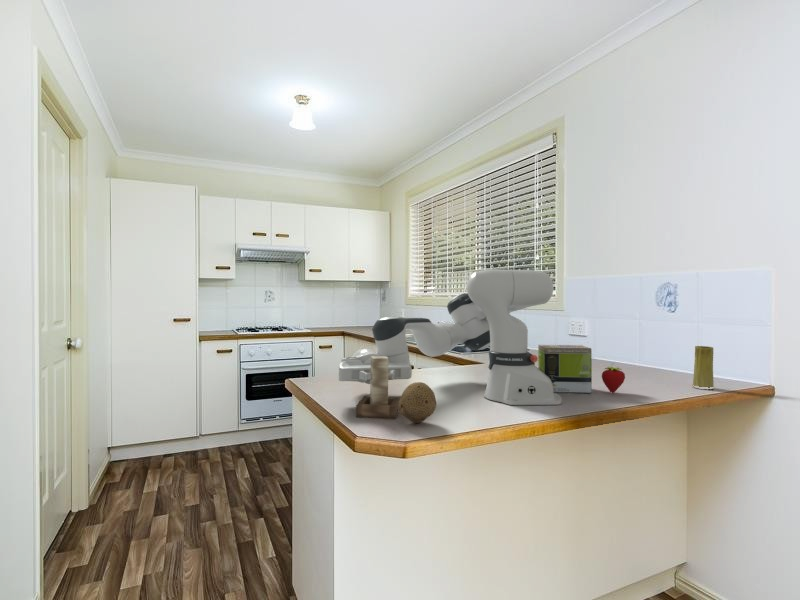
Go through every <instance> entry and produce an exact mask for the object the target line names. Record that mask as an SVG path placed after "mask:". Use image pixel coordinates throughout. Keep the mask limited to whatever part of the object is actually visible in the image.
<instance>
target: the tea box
mask: <svg viewBox="0 0 800 600" xmlns="http://www.w3.org/2000/svg"><path fill="white" fill-rule="evenodd" d="M537 348H538V349H537V352H538V354H537V357H538V359H537V360H538V362H537V363H538V364H537V366H538V367H537V368H538V369H539V370H541V371H542V372H543V373H544V374H545V375H547V376H548V377H549V378H550V380H551V381H552V384H553V389H554V393H578V394H579V393H581V394H583V393H584V394H585V393H586V394H591V393H592V390H593V389H592V386H593V385H592V383H593V382H592V380H593V379H592V377H593V375H592V374H593V373H592V371H593V369H592V368H593V367H592V366H593V365H592V364H593V363H592V360H593V359H592V357H593V355H592V348H591V347H588V346H585V345H583V344H538V347H537Z"/></svg>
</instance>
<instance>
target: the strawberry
mask: <svg viewBox="0 0 800 600" xmlns="http://www.w3.org/2000/svg"><path fill="white" fill-rule="evenodd" d="M614 364H615V362H613V363H612V364H611V365H610V366H607V367H605V368H604V371H603V372H602V373H601V379H602V382H603V383H604V385H605V387H606V388H607V390H609V392H610V393H611V392H614V393H615V392H616V391H617V390H618V389H619V388H620V387H621V386H622V385H623V384H624V382H625V379H626V375H625V373H624V371H622V368H620V367H612V366H613V365H614Z"/></svg>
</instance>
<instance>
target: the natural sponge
mask: <svg viewBox="0 0 800 600" xmlns="http://www.w3.org/2000/svg"><path fill="white" fill-rule="evenodd" d="M399 398H400V401H399V403H398V411H399V412H398V414H400V415H401V416H403V417H404V418H406V419H407V420H409V421H410V422H412V423H415V424H420V423H422V422H424V421H425V420H426V419H427V418H429V417H430V416H432V415H433V414H434V413H435V410H436V408H437V398H436V394H435V392H434V390H433V389H432V388H431V387H430V386H429V385H428V384H426V383H425V382H421V381H420V382H419V381H418V382H416V381H415V382H413V383H410V384H409V385H407V386H406V387H405V388H404V390H403V392H402V393H401V395H400V397H399Z"/></svg>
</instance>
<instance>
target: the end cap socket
mask: <svg viewBox="0 0 800 600" xmlns="http://www.w3.org/2000/svg"><path fill="white" fill-rule="evenodd" d="M400 398H401V397H396V396H395V397H393V396H391V397H389V396H388V405H373V404H370V395H369V396H367V395H365V396H363V397H362V398H361V399H360V400H359V401H358V403H356V407H355V418H365V417H368V418H369V419H370V418H371V419H387V418H389V420H390V419H392V420H395V419H396V418H397V416H398V414H399V412H398V403H399V401H400Z"/></svg>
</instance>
